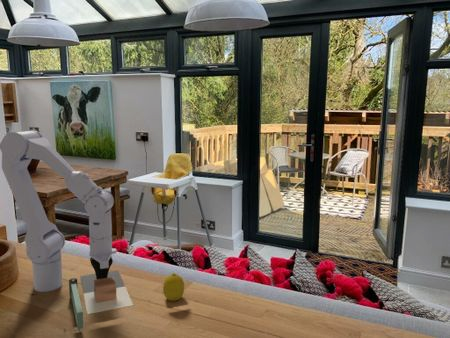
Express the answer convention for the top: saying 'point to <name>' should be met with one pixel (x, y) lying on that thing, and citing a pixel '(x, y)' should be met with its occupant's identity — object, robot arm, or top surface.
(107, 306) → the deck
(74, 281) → the gate post
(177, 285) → the lemon
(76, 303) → the bar
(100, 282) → the block
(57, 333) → the top surface
